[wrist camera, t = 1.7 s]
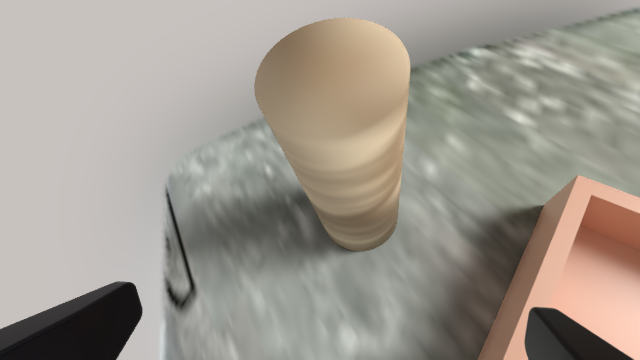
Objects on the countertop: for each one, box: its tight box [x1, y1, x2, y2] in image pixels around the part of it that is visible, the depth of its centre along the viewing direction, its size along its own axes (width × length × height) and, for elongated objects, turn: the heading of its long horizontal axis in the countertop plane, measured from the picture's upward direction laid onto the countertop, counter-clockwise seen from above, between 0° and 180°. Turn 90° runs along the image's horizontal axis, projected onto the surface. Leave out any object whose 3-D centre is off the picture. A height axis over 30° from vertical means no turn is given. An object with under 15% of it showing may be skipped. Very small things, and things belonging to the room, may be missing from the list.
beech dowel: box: [255, 18, 410, 251], centre depth 16 cm, size 5×5×13 cm
